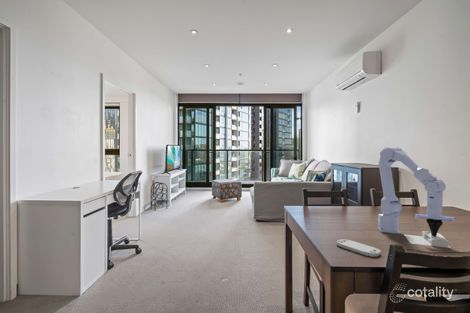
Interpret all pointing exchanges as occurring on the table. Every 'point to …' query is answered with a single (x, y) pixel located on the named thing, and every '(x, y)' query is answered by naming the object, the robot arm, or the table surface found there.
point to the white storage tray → (426, 240)
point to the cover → (437, 237)
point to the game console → (359, 248)
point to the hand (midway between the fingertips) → (433, 235)
